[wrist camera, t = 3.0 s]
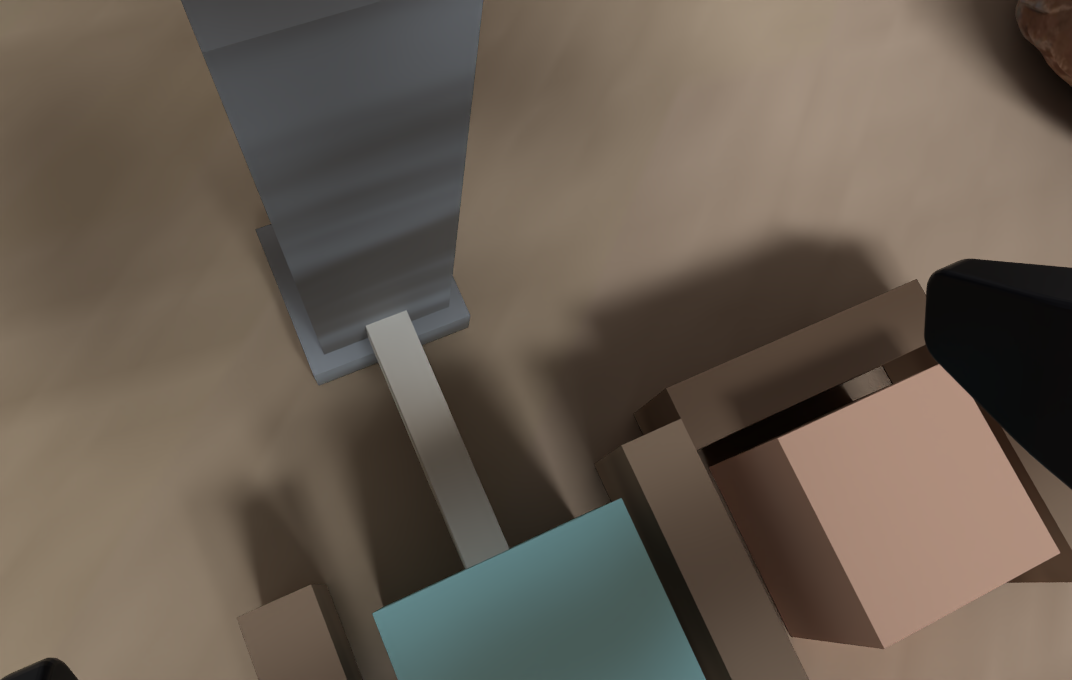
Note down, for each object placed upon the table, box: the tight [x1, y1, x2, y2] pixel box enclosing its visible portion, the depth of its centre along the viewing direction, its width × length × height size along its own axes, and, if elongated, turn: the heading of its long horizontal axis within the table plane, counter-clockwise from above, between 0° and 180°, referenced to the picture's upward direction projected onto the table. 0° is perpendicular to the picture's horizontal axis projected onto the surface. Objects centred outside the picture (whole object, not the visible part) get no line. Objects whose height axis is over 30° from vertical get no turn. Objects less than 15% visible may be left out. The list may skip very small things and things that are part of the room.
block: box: [709, 364, 1060, 649], centre depth 20 cm, size 4×4×4 cm
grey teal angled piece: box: [181, 0, 706, 680], centre depth 15 cm, size 14×5×13 cm, turn 25°
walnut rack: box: [237, 279, 1072, 680], centre depth 19 cm, size 8×18×3 cm, turn 115°
